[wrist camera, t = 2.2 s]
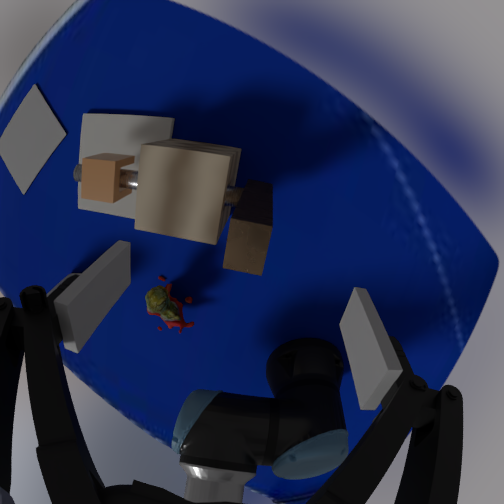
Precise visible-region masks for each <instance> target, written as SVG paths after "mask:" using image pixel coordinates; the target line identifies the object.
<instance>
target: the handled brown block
mask: <svg viewBox="0 0 504 504" xmlns="http://www.w3.org/2000/svg"><path fill="white" fill-rule="evenodd" d="M73 176H74V180H75V181H78V182H81V178H82V164H78V165H77V166H76V167H75V169H74V174H73ZM137 182H138V171H136V170H128V169H120V183H119V187H120V188H127V189H134V190H137ZM224 205H226V206H232V207H236V208H235V210H234V212H233V215H232V217H231V220H230V226H229V232H228V238H227V244H226V250H225V256H224V262H223V268H226V269H231V270H236V271H241V272H246V273H251V274H256V275H262V271H263V267H264V262H265V258H266V254H267V249H268V245H269V241H270V236H271V232H272V227H273V184H271V183H266V182H261V181H256V180H251V179H248V181H247V183H246V185H245V188H241V187H236V186H230V185H227V190H226V196H225V202H224Z"/></svg>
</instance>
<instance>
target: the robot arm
mask: <svg viewBox="0 0 504 504" xmlns="http://www.w3.org/2000/svg"><path fill="white" fill-rule="evenodd" d="M130 283H131V276H130V242H125V241H121V240H119V241H118V242H116V243H115V244H114V245H113V246H112V247H111V248H109V249H108V250H107V251H106V252H105V253H104V254H103V255H102V256H100V257H99V258H98V259H97V260H96V261H95V262H94V263H93V264H92V265H91V266H89V267H88V268H87V269H86V270H85V271H84V272H83V273H82V274H81V275H77V274H75V275H73V276H70V277H68V278H67V279H66V280H65V281H64V282H62V284H60V285H59V286H58V287H57V288H56V289H55V290H54V291H53V292H52V293H51V294H50V295H49V296H48V297H47V296H46V291H45V289H44V288H43V287H42V286H38V285H33V286H29V287H26V288H25V289H23V290H22V291H21V292H20V295H19V296H20V300H21V304H22V307H23V308H16V307H13V304H12V301H11V299H9V298H6V297H2V298H0V504H15V503H14V501H13V498H12V497H11V496H10V486H11V456H12V434H13V421H14V412H15V403H16V396H17V389H18V383H19V377H20V371H21V366H22V361H23V356H24V352H25V363H26V372H27V382H28V390H29V397H30V403H31V410H32V415H33V420H34V425H35V430H36V435H37V439H38V444H39V446H38V447H37V448H36V453H37V458H38V461H39V465H40V469H41V472H42V475H43V479H44V482H45V485H46V488H47V491H48V494H49V496H50V499H51V502H52V504H243V503H242V499H243V492H244V485H245V483H246V482H247V481H249V480H250V479H251V478H253V477H254V476H256V469H257V465H266V466H272V470H273V472H274V474H275V475H276V476H278V477H283V478H284V479H304V478H310V477H314V476H318V475H321V474H324V473H326V472H329V471H331V470H333V469H334V468H336V467H337V466H339V465H340V464H341V463H342V462H343V463H342V464H341V465H340V466H339V467H338V469H337V470H336V471H335V472H334V473H333V474H332V476H331V477H330V478H329V479H328V480H327V481H326V482H325V483H324V485H323V486H322V487H321V488H320V489H319V490H318V491H317V492H316V493H315V494H314V495H313V496H312V497H311V499H310V500H309V501H308V502H307V503H306V504H365V503H366V502H367V500H368V499H369V497H370V496H371V494H372V493H373V492H374V490H375V489H376V487H377V485H378V484H379V482H380V481H381V479H382V477H383V476H384V475H385V473H386V472H387V470H388V468H389V467H390V465H391V463H392V462H393V460H394V458H395V457H396V455H397V453H398V451H399V449H400V448H401V445H402V444H403V442H404V440H405V438H406V437H407V435H408V433H409V431H410V429H411V427H413V428H412V434H411V439H410V444H409V449H408V454H407V458H406V462H405V467H404V471H403V475H402V478H401V482H400V486H399V489H398V493H397V496H396V500H395V503H394V504H457V499H458V493H459V485H460V476H461V465H462V450H463V398H462V394H461V392H460V391H459V390H458V389H457V388H456V387H454V386H452V385H445V386H443V387H442V389H441V390H440V391H437V390H433V389H430V388H428V385H427V383H426V382H425V380H424V379H422V378H421V377H419V376H417V375H414V373H413V371H412V368H411V366H410V364H409V362H408V359H407V357H406V355H405V353H404V352H403V348H402V346H401V344H400V343H399V342H398V340H397V339H396V338H395V337H393V336H388V334H387V332H386V330H385V328H384V326H383V323H382V321H381V319H380V317H379V315H378V313H377V310H376V308H375V306H374V304H373V302H372V300H371V298H370V296H369V294H368V292H367V290H366V289H363V288H358V287H354V290H353V292H352V295H351V297H350V300H349V302H348V305H347V307H346V310H345V312H344V314H343V317H342V319H341V321H340V324H339V325H340V329H341V333H342V336H343V340H344V344H345V348H346V351H347V355H348V359H349V363H350V367H351V371H352V375H353V379H354V383H355V387H356V392H357V396H358V400H359V405H360V409H361V410H375V409H376V408H377V406H378V405H379V404H380V402H381V404H382V408H383V409H382V410H381V411H380V413H379V414H378V415H377V416H376V418H375V419H374V420H373V421H372V422H373V423H372V424H371V426H370V427H369V428H368V430H367V431H366V433H365V434H364V435H363V437H362V438H361V439H360V441H359V442H358V443H357V445H356V446H355V447H354V449H353V450H352V451H351V453H350V454H349V455H348V431H347V429H346V424H345V418H344V413H343V407H342V402H341V397H340V392H339V390H340V385H341V381H342V376H343V371H344V365H343V360H342V356H341V353H340V352H339V350H338V349H337V348H336V347H335V346H334V345H332V344H331V343H329V342H327V341H324V340H320V339H314V338H304V339H297V340H293V341H290V342H287V343H285V344H283V345H281V346H280V347H278V348H277V349H276V350H274V351H273V352H272V354H271V355H270V356H269V358H268V361H267V365H266V377H267V381H268V383H269V386H270V388H271V391H272V393H273V395H274V398H266V397H257V396H249V395H241V394H234V393H227V392H223V391H221V390H219V391H212V390H204V389H198V390H195V391H193V392H192V393H191V394H190V395H189V396H188V397H187V399H186V400H185V402H184V404H183V406H182V408H181V410H180V413H179V415H178V418H177V421H176V424H175V428H174V432H173V435H174V436H173V439H172V449H173V451H175V452H176V453H177V454H181V456H180V462H179V464H180V466H181V467H182V468H183V469H184V471H185V472H186V474H187V481H186V487H185V494H184V498H182V497H180V496H177V495H175V494H173V493H171V492H169V491H167V490H165V489H163V488H160V487H156V486H153V485H149V484H146V483H143V482H140V481H136V480H134V481H133V484H132V485H114V486H109V487H106V488H105V486H104V484H103V482H102V480H101V478H100V476H99V474H98V472H97V470H96V468H95V466H94V463H93V461H92V458H91V456H90V453H89V451H88V448H87V445H86V442H85V440H84V437H83V434H82V431H81V428H80V425H79V422H78V419H77V416H76V412H75V409H74V406H73V402H72V399H71V395H70V391H69V388H68V383H67V379H66V375H65V371H64V366H63V361H62V357H61V352H60V347H59V343H60V342H61V341H62V340H63V342H64V346H65V348H66V349H68V350H71V351H73V352H76V353H79V351H80V350H81V349H82V347H83V346H84V344H85V343H86V342H87V340H88V339H89V337H90V336H91V335H92V333H93V332H94V330H95V329H96V328H97V326H98V325H99V324H100V322H101V321H102V320H103V318H104V317H105V316H106V314H107V313H108V312H109V310H110V309H111V308H112V306H113V305H114V304H115V302H116V301H117V300H118V299H119V297H120V296H121V295H122V293H123V292H124V291H125V290H126V288H127V287H128V286H129V285H130ZM347 455H348V456H347ZM346 457H347V458H346Z"/></svg>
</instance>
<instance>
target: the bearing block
mask: <svg viewBox="0 0 504 504" xmlns="http://www.w3.org/2000/svg"><path fill="white" fill-rule="evenodd" d="M240 154H241V149H240V148H234V147H229V146H223V145H216V144H210V143H203V142H196V141H189V140H181V139H168V140H162V141H156V142H151V143H145V144H141V151H140V160H139V170H138V182H137V195H136V211H135V229H138V230H143V231H148V232H153V233H158V234H163V235H168V236H173V237H178V238H183V239H188V240H193V241H199V242H204V243H209V244H214V245H216V244H217V242H218V239H219V237H220V235H221V233H222V231H223V228H224V226H225V224H226V222H227V220H228V218H229V216H230V210H231V206H226V205H224V202H225V196H226V190H227V185H230V186H235V182H236V176H237V171H238V165H239V160H240Z"/></svg>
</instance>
